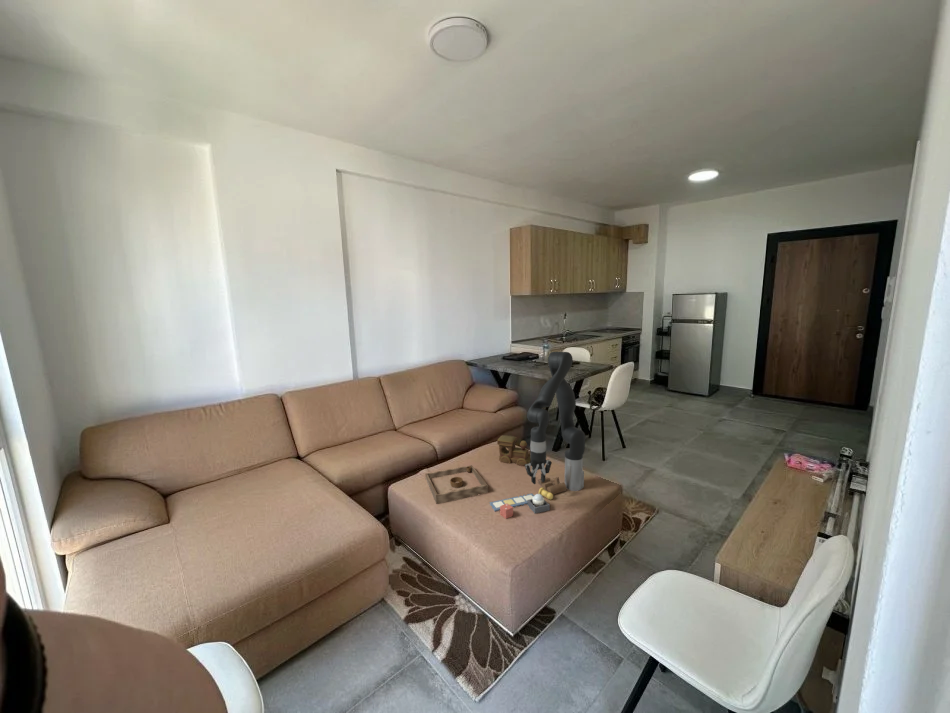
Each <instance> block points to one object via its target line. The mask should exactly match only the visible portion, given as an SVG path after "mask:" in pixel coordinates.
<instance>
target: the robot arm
mask: <svg viewBox="0 0 950 713" xmlns="http://www.w3.org/2000/svg"><path fill="white" fill-rule="evenodd" d="M547 358H548V359H547V363H548V368H549V371H550V374H551V377H550V378H549V379H548V380H546V382H545V383H544V384H543V386H542V387H541V389H540V391H539V393H538V396H537V398H536V399H535V401H534V402H533V403H532V404H531V406H530V407H529V408H528V411H527V412H526V418H527V420H528V422H531V423H535V424H538V426H533V427H532V428H531V429H530V443H529V444H530V446H529V450H530V451H529V454H530V458H531V461H530V463H529V464H525V466H524V467H525V471H526V474H527V475H528V476H529V477H530V478H531V479H530V480H531V483H532V484H534V485H536V484H537V483H536V482H537V481H536V480H537V478H536V475H537V473H538V471H539V470H540V472H541V473H540V479H541V481H542V482H544V481H545V478H546V475H547V474H550V470H551V467H552V461H551V460H550V459H547V439H546V438H547V437H546V435H547V434H546V432H547V428H548V425H549V422H550V418H551V417H550V413H549V411H548V410H547V409H544V408H549V407H551V406H552V403H553V400H554V399H555V395H556V403H557V406H558V413H559V416H560V417H559V419H560V427H561V428H560V429H561V436H562V440H564V442H565V443H567V444H569V448H568V449H566V450H565V452H564V483H565V485H566V488H567V489H566V490H568V491H572V492H577V491H578V492H579V491H580V490H582V489H583V488H584V487H585V486H584V485H585V471H584V470H583V468H584V467H583V463H584V462H583V460H584V454H585V445H586V434H585V432H584V431H583V430H581V429H579V428H577V427H576V425H575V422H574V416H573V415H574V412H575V410H576V406H577V404H576V403H577V401H576V397H575V396H576V395H575V391H574V390H573V388H572V386H571V385H570V384H569V383H568V381H567V380H566V378H565V377H566V376H567V374H568V373H569V371H570V370H571V368H572V365H573V359H574V358H573V356H572V353H570V352H568V351H551V352H550V353H549V354H548V356H547Z"/></svg>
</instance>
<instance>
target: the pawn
mask: <svg viewBox="0 0 950 713" xmlns="http://www.w3.org/2000/svg"><path fill="white" fill-rule="evenodd" d="M537 494H541V495H542V496H543V497H545V498H546V499H547V500H553V499H554V495H553V494H552V493H549V492H547V490H545V489H544V488H543V487H542V486H541V487H540V488H539V489H538V493H537Z"/></svg>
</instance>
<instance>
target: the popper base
mask: <svg viewBox="0 0 950 713" xmlns="http://www.w3.org/2000/svg"><path fill="white" fill-rule="evenodd" d="M527 505H528V506H529V507H528V506H527V507H528V508H529V509H530V510H531V511H532V512H533V513H534V514H540V513H544V512H548V511H550V508H551V505H550V503H548V502H547V501H546V500H545V499H544V505H542V506H536V505H533V499H530V500H527Z"/></svg>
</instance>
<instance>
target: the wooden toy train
mask: <svg viewBox="0 0 950 713" xmlns="http://www.w3.org/2000/svg"><path fill="white" fill-rule="evenodd" d="M517 441H518V437H517V436H515V435H509V434H508V435H507V434H503V435H500V437H499V438H497V444H496V445H498V453H499V456H498V458H499V460H498V461H500V463H503V464H508V465H509V464H516V466H520V467H525V464H529V463H530V461H531V458H530V452H529V449H528V448H527V447H528V443H527V441H526V440H521V441H520V443H519V446H520V447H516V443H517Z"/></svg>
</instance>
